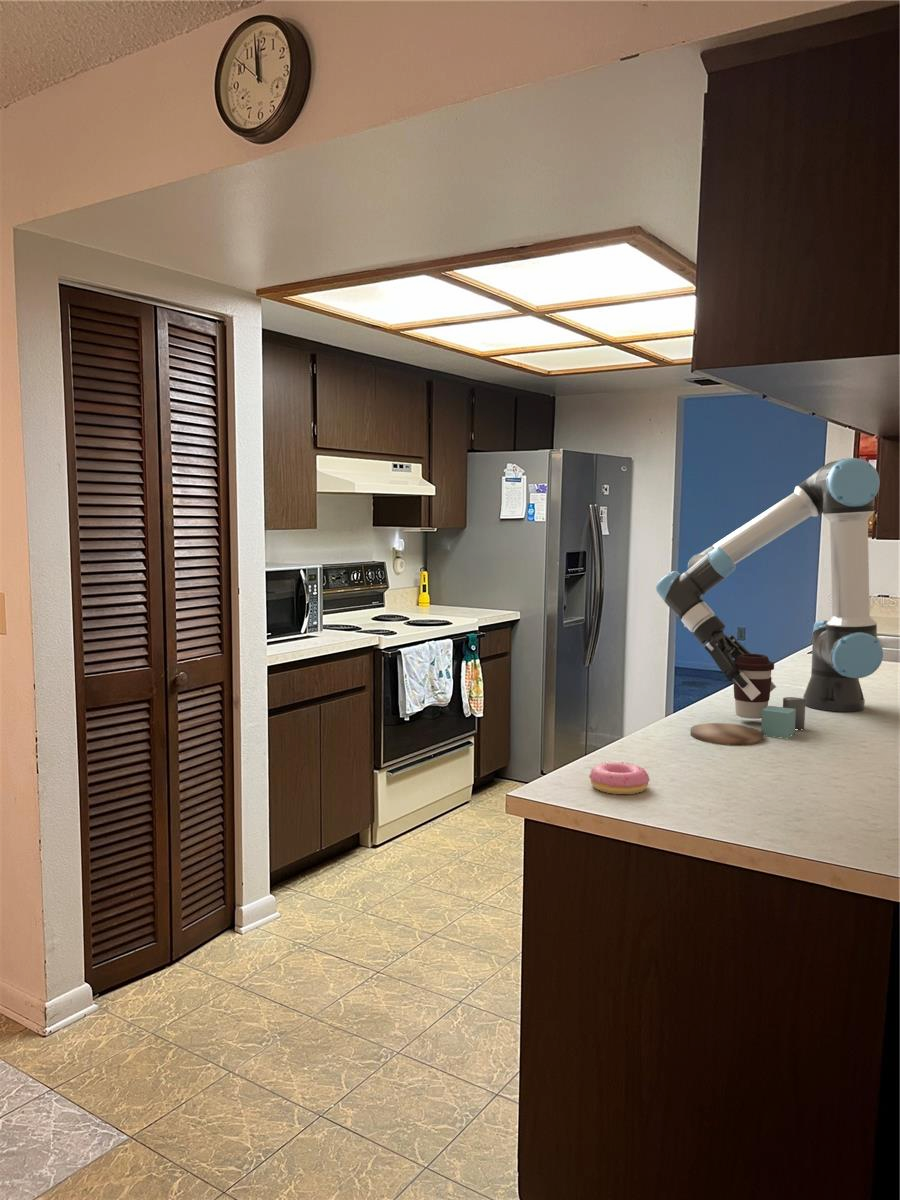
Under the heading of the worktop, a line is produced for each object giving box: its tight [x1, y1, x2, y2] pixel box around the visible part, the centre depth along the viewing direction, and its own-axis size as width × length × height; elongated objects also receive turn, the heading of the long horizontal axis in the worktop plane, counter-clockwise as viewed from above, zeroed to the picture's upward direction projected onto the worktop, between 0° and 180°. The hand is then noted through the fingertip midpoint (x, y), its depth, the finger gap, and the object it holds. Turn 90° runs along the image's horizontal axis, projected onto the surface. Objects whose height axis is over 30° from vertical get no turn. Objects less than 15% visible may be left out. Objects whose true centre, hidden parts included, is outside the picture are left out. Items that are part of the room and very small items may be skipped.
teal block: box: [760, 705, 796, 739], centre depth 209 cm, size 6×6×6 cm
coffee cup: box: [732, 653, 775, 720], centre depth 221 cm, size 10×10×15 cm
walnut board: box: [690, 722, 765, 746], centre depth 208 cm, size 16×16×1 cm
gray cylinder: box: [782, 696, 806, 731], centre depth 216 cm, size 5×5×7 cm
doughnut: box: [588, 761, 651, 795], centre depth 167 cm, size 11×11×4 cm
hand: (764, 693), depth 220 cm, fingers closed on coffee cup, 10 cm apart
